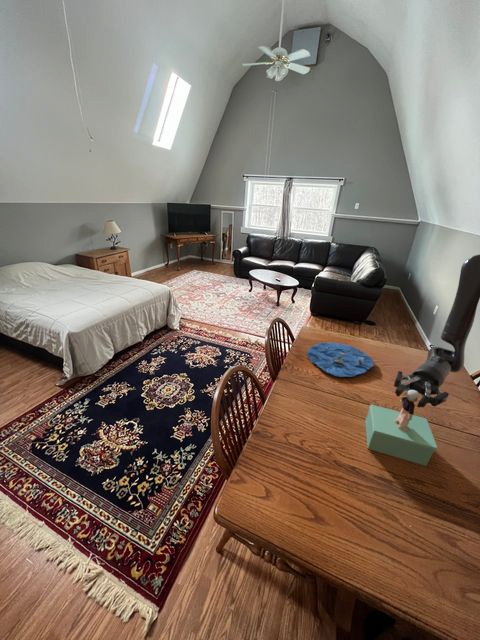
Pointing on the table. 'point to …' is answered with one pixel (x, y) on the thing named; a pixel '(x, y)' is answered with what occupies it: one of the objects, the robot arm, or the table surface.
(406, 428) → the grandmother figurine
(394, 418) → the lunchbox lid
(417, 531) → the table surface
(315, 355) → the blue sea diorama
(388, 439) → the block
